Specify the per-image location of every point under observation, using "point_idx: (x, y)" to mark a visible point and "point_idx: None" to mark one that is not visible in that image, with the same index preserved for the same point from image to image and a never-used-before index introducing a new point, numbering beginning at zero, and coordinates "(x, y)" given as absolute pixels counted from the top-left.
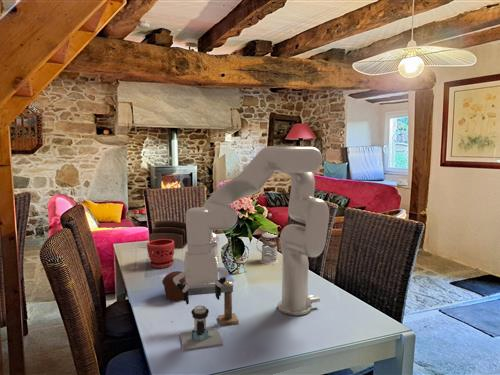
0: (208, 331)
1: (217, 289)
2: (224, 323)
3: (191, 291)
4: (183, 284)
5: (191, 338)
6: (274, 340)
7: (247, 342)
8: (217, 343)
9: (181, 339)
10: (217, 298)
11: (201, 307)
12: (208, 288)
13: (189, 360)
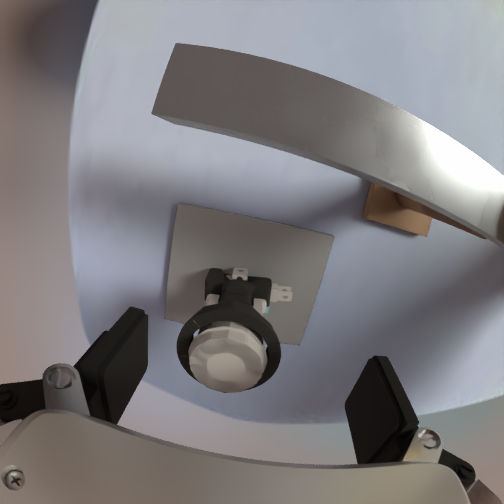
0: (276, 291)
1: (362, 461)
2: (377, 220)
3: (236, 135)
4: (47, 406)
5: (207, 269)
6: (426, 365)
7: (369, 354)
8: (281, 340)
9: (170, 257)
10: (347, 410)
11: (237, 366)
12: (404, 192)
13: (174, 362)
